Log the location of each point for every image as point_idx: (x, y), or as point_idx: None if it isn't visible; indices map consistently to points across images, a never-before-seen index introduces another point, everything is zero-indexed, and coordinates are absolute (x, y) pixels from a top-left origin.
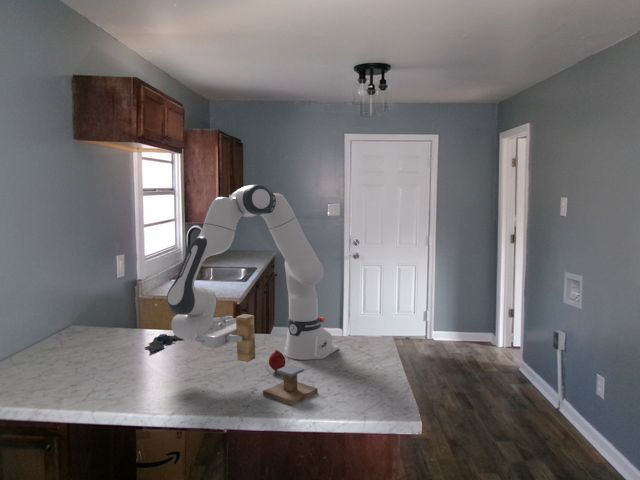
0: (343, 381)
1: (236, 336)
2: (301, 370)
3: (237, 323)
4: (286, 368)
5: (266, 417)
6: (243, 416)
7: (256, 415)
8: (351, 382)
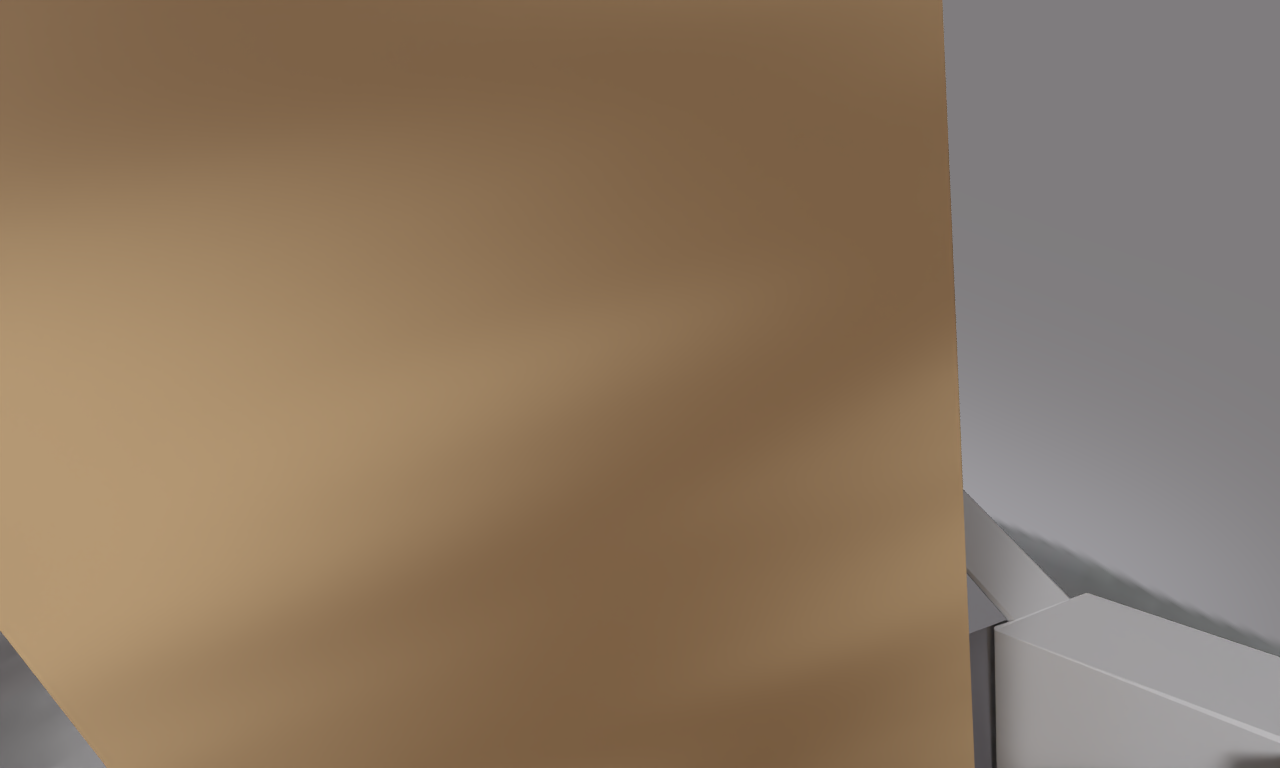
0: (11, 747)
1: (1077, 614)
2: None
3: (893, 251)
4: None
5: (1004, 526)
6: (1207, 618)
7: (1073, 583)
8: (18, 696)
